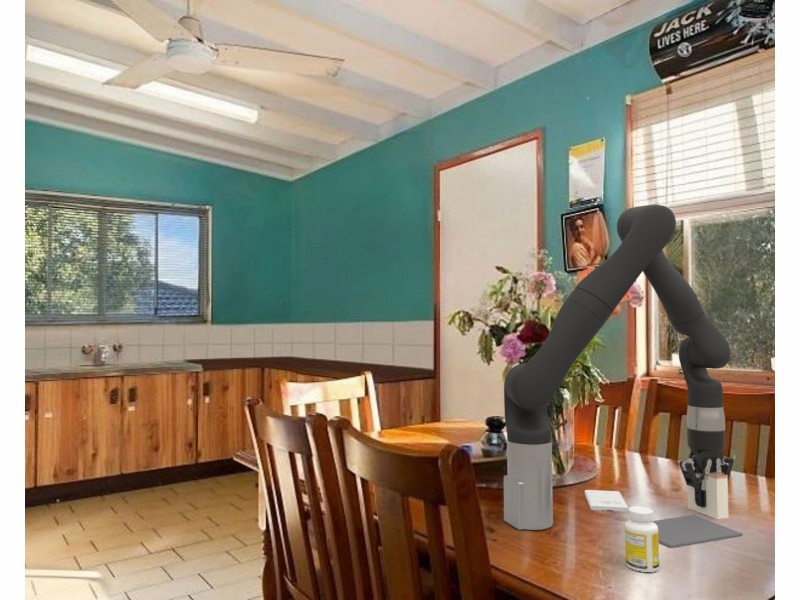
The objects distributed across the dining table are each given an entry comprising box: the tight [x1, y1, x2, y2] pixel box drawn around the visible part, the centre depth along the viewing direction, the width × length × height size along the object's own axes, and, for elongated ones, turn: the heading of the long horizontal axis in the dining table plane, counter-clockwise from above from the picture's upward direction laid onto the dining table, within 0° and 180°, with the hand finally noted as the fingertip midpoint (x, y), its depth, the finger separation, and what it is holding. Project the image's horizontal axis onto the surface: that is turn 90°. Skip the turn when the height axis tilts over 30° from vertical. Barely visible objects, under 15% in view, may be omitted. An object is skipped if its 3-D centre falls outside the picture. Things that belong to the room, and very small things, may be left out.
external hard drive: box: [584, 489, 630, 513], centre depth 139 cm, size 2×8×12 cm
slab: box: [687, 472, 729, 520], centre depth 132 cm, size 3×8×9 cm, turn 20°
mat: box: [652, 514, 744, 549], centre depth 120 cm, size 18×12×1 cm, turn 110°
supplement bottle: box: [624, 506, 660, 573], centre depth 103 cm, size 5×5×10 cm
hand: (707, 505), depth 131 cm, fingers open, 3 cm apart
